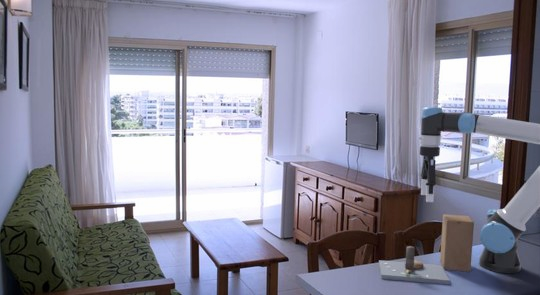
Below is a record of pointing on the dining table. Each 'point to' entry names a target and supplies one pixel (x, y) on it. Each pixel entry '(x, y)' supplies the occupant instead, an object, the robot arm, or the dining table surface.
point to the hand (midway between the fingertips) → (426, 198)
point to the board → (413, 272)
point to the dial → (411, 260)
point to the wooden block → (456, 242)
